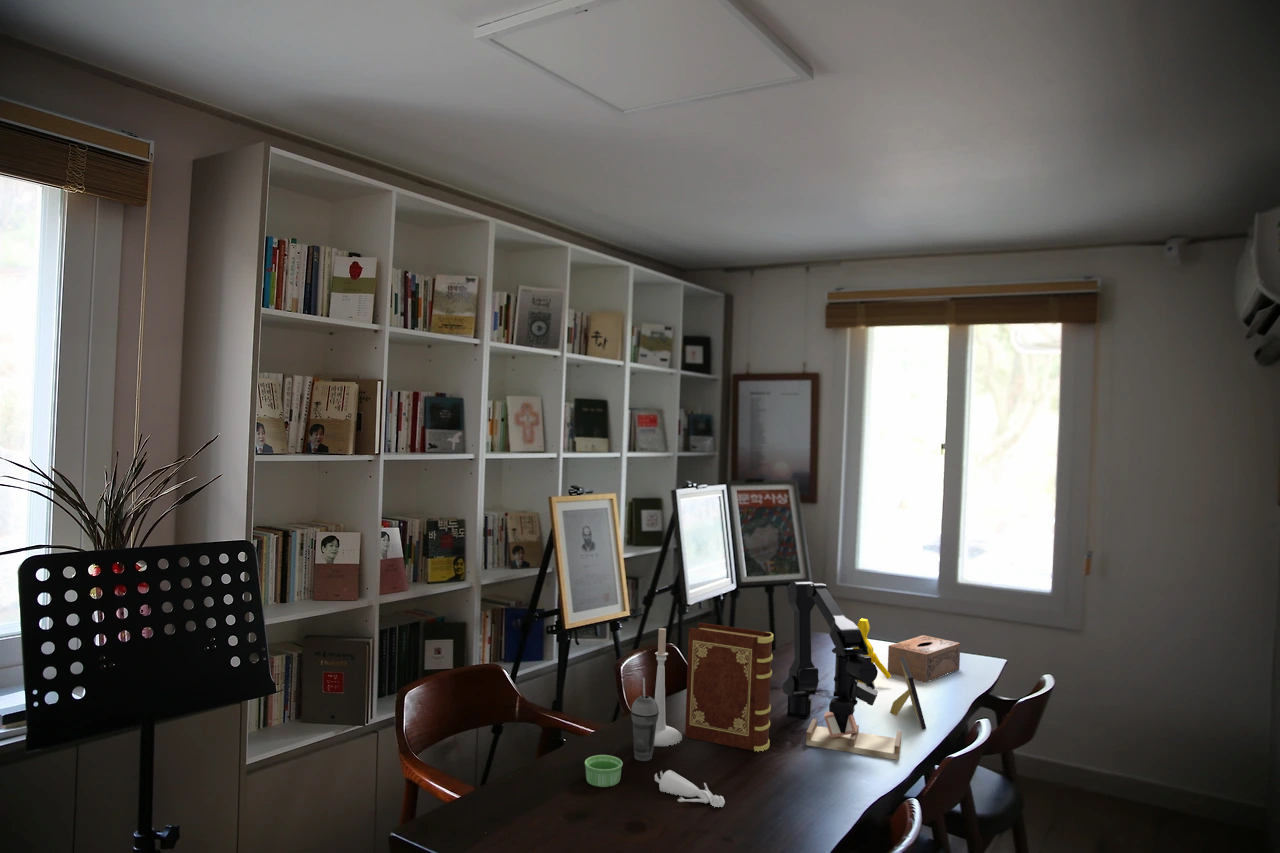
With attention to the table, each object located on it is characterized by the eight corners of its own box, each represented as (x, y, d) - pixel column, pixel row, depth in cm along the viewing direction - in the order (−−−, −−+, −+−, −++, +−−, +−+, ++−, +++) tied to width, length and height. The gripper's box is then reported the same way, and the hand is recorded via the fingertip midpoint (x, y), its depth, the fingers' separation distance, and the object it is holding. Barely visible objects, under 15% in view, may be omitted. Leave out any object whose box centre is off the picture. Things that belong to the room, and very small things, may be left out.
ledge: (806, 745, 226) (806, 732, 226) (812, 730, 238) (813, 718, 238) (898, 760, 218) (899, 746, 218) (901, 744, 229) (901, 731, 229)
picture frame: (926, 729, 241) (922, 677, 242) (894, 729, 243) (889, 677, 244) (916, 704, 264) (912, 656, 264) (887, 705, 266) (883, 657, 266)
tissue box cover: (925, 683, 289) (926, 654, 289) (887, 673, 299) (888, 645, 299) (959, 670, 307) (960, 643, 307) (922, 661, 317) (923, 635, 317)
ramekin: (585, 771, 204) (586, 753, 204) (622, 773, 203) (623, 755, 203) (582, 787, 195) (582, 768, 195) (620, 789, 194) (621, 770, 194)
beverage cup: (637, 764, 209) (639, 684, 209) (624, 754, 215) (626, 676, 215) (662, 760, 212) (665, 681, 212) (649, 750, 218) (651, 673, 219)
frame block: (831, 738, 228) (823, 716, 229) (832, 733, 232) (825, 711, 232) (856, 732, 226) (848, 710, 226) (857, 728, 229) (850, 706, 230)
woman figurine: (672, 759, 202) (737, 785, 191) (670, 778, 202) (735, 804, 191) (644, 775, 192) (711, 803, 182) (642, 794, 192) (709, 823, 182)
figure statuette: (892, 685, 284) (895, 620, 285) (885, 690, 278) (888, 624, 278) (842, 675, 294) (844, 612, 294) (834, 680, 288) (836, 616, 288)
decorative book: (772, 743, 226) (776, 632, 226) (764, 753, 219) (768, 638, 219) (695, 728, 236) (698, 621, 236) (684, 737, 229) (688, 627, 229)
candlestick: (666, 750, 219) (671, 635, 219) (625, 739, 226) (629, 627, 226) (690, 735, 230) (694, 626, 230) (650, 725, 237) (654, 619, 237)
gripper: (873, 686, 217) (871, 746, 217) (879, 668, 235) (877, 724, 235) (829, 680, 221) (827, 739, 221) (838, 663, 239) (836, 717, 239)
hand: (843, 730), depth 229 cm, fingers closed on frame block, 4 cm apart
